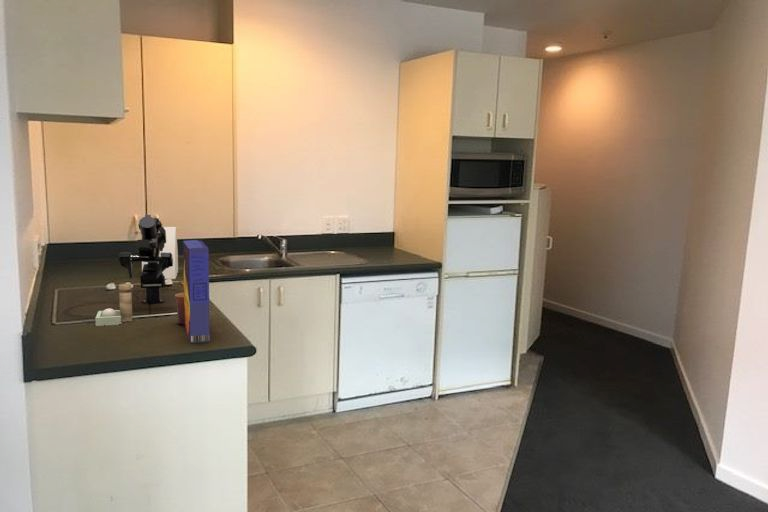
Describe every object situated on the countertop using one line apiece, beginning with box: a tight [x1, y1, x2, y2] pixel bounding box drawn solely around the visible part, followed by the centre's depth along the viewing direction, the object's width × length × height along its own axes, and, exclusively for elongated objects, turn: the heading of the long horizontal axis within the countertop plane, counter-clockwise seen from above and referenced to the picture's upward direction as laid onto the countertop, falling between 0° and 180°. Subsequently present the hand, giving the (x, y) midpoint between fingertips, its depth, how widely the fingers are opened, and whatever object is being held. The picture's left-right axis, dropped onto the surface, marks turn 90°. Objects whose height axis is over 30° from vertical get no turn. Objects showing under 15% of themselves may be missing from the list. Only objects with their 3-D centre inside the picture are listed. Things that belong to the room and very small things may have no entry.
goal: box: [95, 309, 122, 327], centre depth 214 cm, size 11×8×3 cm
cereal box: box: [182, 239, 211, 344], centre depth 199 cm, size 22×6×30 cm, turn 22°
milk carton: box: [141, 226, 179, 280], centre depth 308 cm, size 19×15×25 cm
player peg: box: [118, 283, 133, 323], centre depth 215 cm, size 4×4×13 cm
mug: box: [174, 292, 185, 326], centre depth 215 cm, size 12×9×10 cm
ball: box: [102, 307, 116, 317], centre depth 214 cm, size 5×5×5 cm
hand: (143, 277), depth 226 cm, fingers open, 9 cm apart
